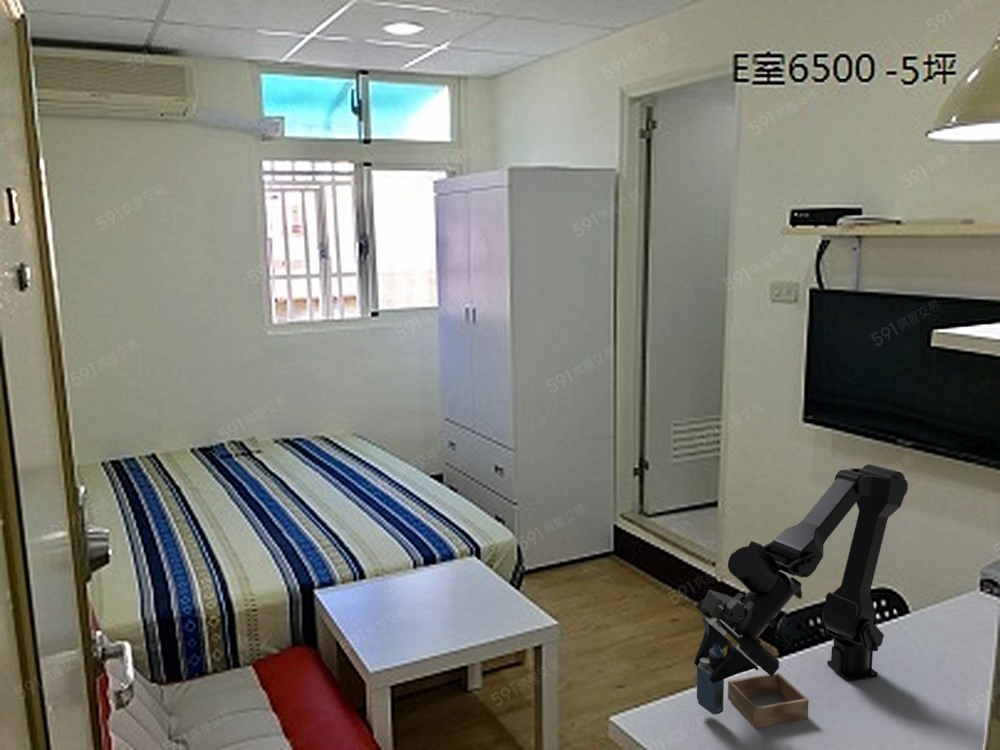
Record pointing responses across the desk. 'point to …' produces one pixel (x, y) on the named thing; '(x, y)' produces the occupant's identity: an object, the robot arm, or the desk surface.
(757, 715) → the box
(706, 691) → the vaping device
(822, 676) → the desk surface
